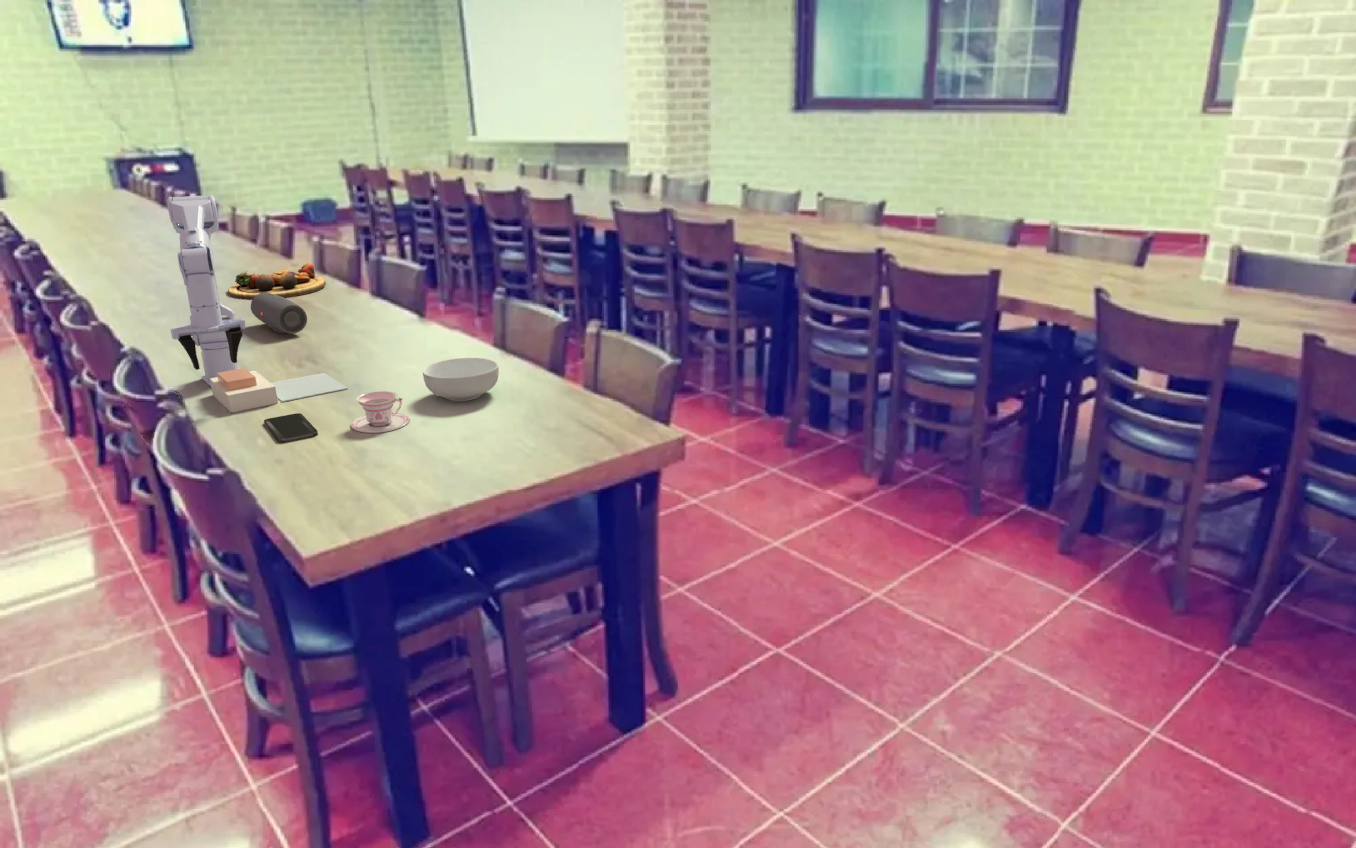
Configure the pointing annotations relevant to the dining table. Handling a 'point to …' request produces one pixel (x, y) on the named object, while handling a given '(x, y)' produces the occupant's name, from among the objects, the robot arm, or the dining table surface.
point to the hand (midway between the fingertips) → (215, 365)
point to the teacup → (379, 413)
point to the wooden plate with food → (277, 283)
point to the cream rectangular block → (245, 394)
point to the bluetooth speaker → (279, 313)
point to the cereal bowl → (461, 378)
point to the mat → (306, 387)
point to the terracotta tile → (236, 379)
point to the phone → (290, 428)
